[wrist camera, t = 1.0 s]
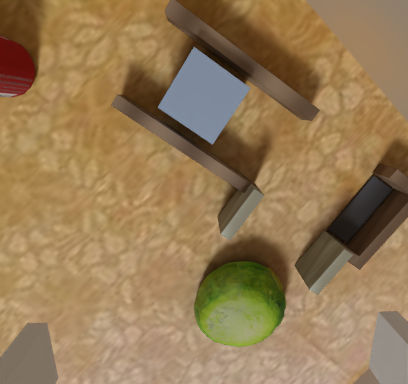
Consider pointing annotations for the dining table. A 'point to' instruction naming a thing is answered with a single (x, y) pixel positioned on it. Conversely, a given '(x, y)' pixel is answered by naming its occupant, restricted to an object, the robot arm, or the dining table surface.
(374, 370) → the robot arm
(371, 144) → the dining table surface
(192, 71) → the block
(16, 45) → the soda can
